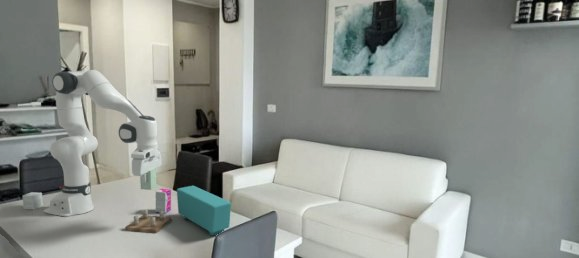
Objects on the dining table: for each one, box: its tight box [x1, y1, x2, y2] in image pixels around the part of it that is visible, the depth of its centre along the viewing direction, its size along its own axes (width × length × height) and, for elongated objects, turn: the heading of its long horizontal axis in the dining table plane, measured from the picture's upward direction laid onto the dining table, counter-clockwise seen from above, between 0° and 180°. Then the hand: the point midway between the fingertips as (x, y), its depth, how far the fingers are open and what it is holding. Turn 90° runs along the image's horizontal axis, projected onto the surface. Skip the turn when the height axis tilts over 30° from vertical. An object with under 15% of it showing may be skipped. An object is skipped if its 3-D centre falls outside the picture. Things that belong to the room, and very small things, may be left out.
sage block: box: [139, 168, 157, 191], centre depth 163 cm, size 5×5×9 cm
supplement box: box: [155, 188, 172, 215], centre depth 183 cm, size 6×6×12 cm
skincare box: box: [22, 191, 44, 210], centre depth 183 cm, size 6×6×7 cm
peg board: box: [124, 209, 172, 234], centre depth 165 cm, size 15×15×6 cm
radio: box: [176, 185, 232, 236], centre depth 167 cm, size 34×10×15 cm, turn 44°
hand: (148, 180), depth 163 cm, fingers closed on sage block, 5 cm apart
